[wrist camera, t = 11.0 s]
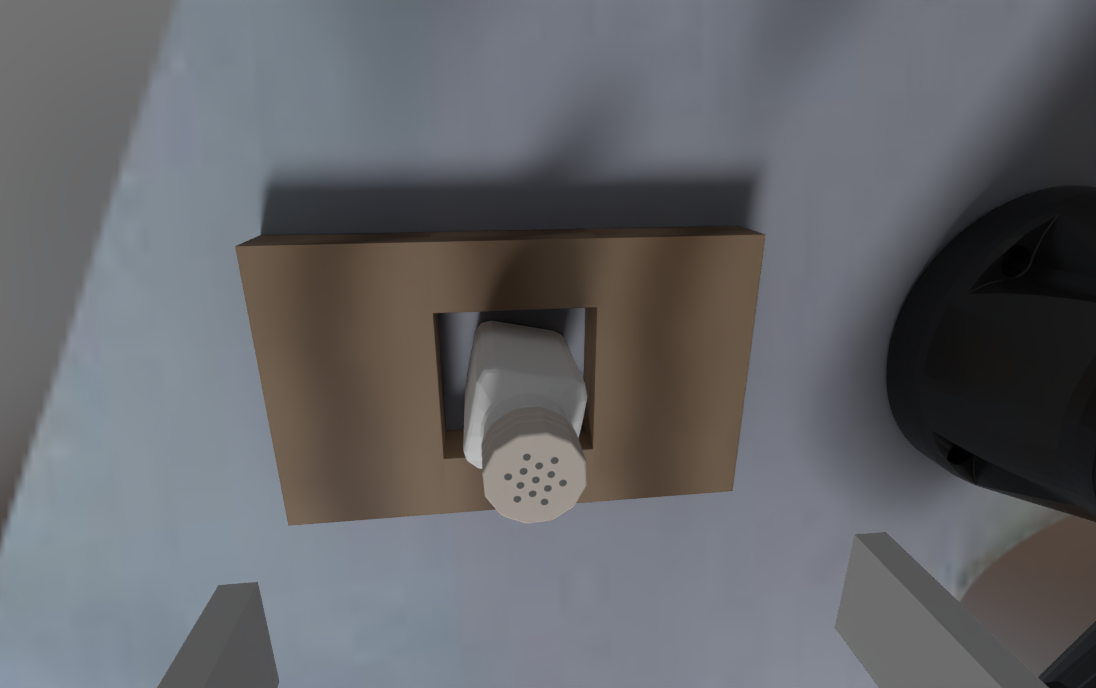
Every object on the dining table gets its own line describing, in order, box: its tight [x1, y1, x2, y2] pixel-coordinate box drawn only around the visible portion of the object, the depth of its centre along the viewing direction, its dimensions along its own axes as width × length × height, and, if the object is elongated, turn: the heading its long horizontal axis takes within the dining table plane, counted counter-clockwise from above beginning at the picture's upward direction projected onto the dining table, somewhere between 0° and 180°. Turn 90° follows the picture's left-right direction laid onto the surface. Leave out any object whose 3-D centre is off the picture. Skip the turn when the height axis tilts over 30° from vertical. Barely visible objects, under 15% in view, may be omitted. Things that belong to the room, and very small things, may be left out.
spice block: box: [235, 226, 765, 526], centre depth 24 cm, size 20×12×2 cm, turn 90°
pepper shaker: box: [463, 321, 587, 524], centre depth 21 cm, size 4×4×10 cm
